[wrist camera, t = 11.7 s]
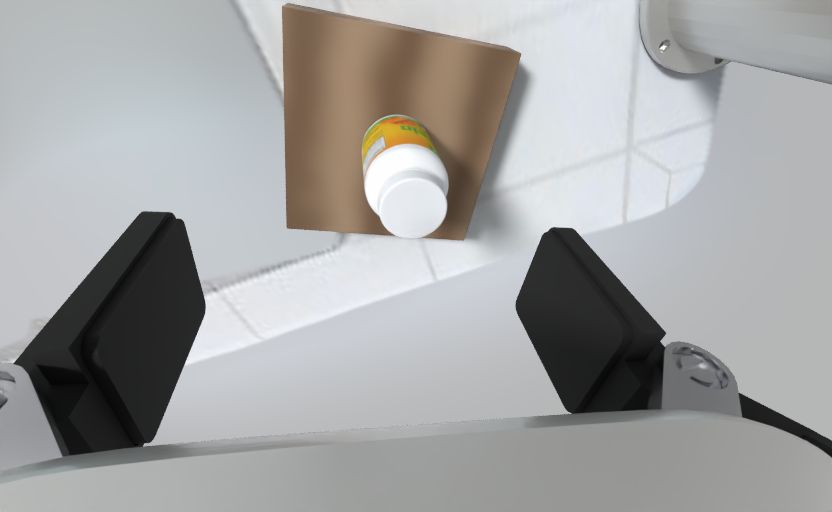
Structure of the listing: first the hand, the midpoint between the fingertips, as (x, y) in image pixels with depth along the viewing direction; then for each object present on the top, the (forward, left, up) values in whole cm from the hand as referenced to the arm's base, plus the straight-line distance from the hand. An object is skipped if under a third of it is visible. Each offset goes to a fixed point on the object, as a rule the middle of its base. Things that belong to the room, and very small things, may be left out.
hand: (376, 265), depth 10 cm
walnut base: (-3, +4, -23) cm, 24 cm away
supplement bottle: (-3, +4, -20) cm, 21 cm away
